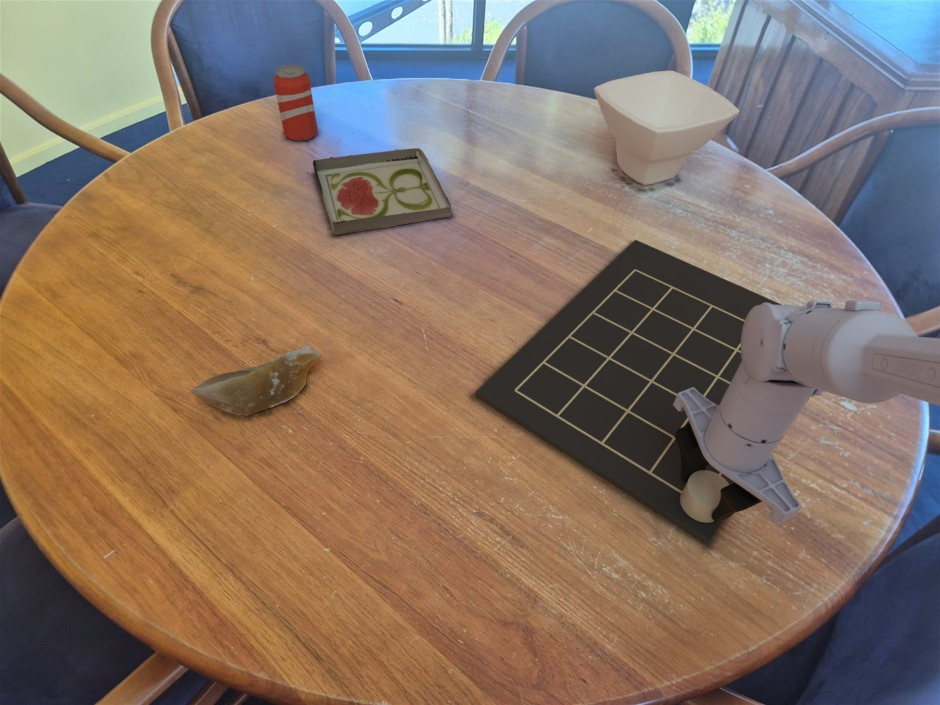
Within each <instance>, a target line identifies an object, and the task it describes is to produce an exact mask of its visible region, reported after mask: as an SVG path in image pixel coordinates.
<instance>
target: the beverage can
mask: <svg viewBox="0 0 940 705" xmlns="http://www.w3.org/2000/svg"><path fill="white" fill-rule="evenodd" d="M274 74H275V75H274V80H273V86H274V91H275V95H276V100H277V101H276V102H277V104H278V110H279V114H280V115H279V116H280V120H281V126H282V130H283V134H284V136H285V137H287V138H289V139H290V140H293V141H297V142H304V141H309V140H310V139H312V138H313V137H314V136H316V135H317V134H318V124H317V123H318V122H317V118H316V110H315V104H314V99H313V91H312V86H311V81H310V80H311V79H310V76H309V75H308V74H307V72H306V70H305V67H303V66H301V65H297V64H288V65H281V66H279V67H277V68H276V69H275V73H274Z"/></svg>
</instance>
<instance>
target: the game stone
mask: <svg viewBox="0 0 940 705" xmlns="http://www.w3.org/2000/svg"><path fill="white" fill-rule="evenodd" d="M728 485H729V483H728V482H727V481H726V480H725V479H724V478H723V477H722V476H720V475H719V474H717V473H715V472H712V471H708V470H700V471H697V472H695V473H693V474H692V475H691V476H690V477H689V479H688V481H687V483H686V485H685V486H684V488H683V490H682V492H681V494H680V503H681V506H682V508H683V510H684V511H685V512H686V514H687V515H688V516H690V517H691V518H693V519H694V520H697V521H699V522H704V523H710V522H714V520H713V519H712V518H711V517H712V513H713V512H714V510H715V509H716V508H717V506H718V504H719V502H720V498H721V492H720V490H721V489H722V488H724V487H726V486H728Z"/></svg>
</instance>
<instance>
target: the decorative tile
mask: <svg viewBox="0 0 940 705" xmlns="http://www.w3.org/2000/svg"><path fill="white" fill-rule="evenodd" d="M312 166H313V171H314V174H315V177H316V180H317V183H318V186H319V189H320V193H321V196H322V199H323V203H324V206H325V209H326V213H327V215H328V216H327V217H328V219H329V221H330V222H329V223H330V226H331V228H332V234H333V235H335V236H341V235H345V234H353V233H358V232H364V231H372V230H379V229H386V228H392V227H396V226H401V225H408V224H412V223H419V222H424V221H430V220H436V219H442V218H443V219H444V218H450V217H451V216H452V208H451V206H452V204H451V202H450V201H449V198H448V197H447V196H446V194H445V191H444V188H442V186H441V183H440V181H439V179H438V178H437V176H436V173H435V172H434V169H433V168H432V166H431V164H430V162H429V159H428V158H427V156H426V154H425V152H424V151H423V150H422V149H421V148H419V147H415V148H404V149H397V148H396V149H393V150H386V151H377V152H370V153H369V152H368V153H363V154H362V153H361V154H360V153H359V154H350V155H344V156H343V155H342V156H336V157H334V156H329V158H328V157H327V158H320V159H313V160H312Z"/></svg>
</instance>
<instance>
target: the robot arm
mask: <svg viewBox="0 0 940 705" xmlns="http://www.w3.org/2000/svg"><path fill="white" fill-rule="evenodd" d="M881 306H882V304H881V302H880V301H878V300H857V299H856V300H854V299H848V300H845V302H844V308H838V307H834V306H833V302H832V301H830V300H808V301H807V303H806V305H792V304H782V305H773V304H770V303H762V304H761V305H757V306H755V307H753V308H752V309H751V310H750V312H749V313H748V315H747V317H746V319H745V322H744V325H743V329H742V334H741V357H742V362H741V364H740V366H739V368H738V369H737V371H736V373H735V375H734V377H733V379H732V381H731V383H730V385H729V387H728V389H727V391H726V393H725V395H724V397H723V399H722V401H721V403H720V404H719V406H718V405H716V404H715V403H713V402H711V401H710V400H708V399H707V398H705V397H704V396H703V395H702V394H700V393H699V392H698V391H697V390H696V389H695V388H694V387H692V388H690V389H687V390H684V391H682V392H679V393H678V394H677V397H676V399H675V401H674V404H673V405H674V407H675V408H676V409H677V410H678V411H680V412H682V411H684V410H685V412H686V414H687V417H688V419H689V423H688V424H687V425H686V426H684V427H682V428H680V429H678V430H677V432H676V434H675V439H676V441H677V443H678V446H679V450H680V455H681V480H682V481H683V482H684V483H686V482H687V481H688V479H689V477H690V476H691V475H692V474H693V473H695V472H697V471H700V470H705V469H706V467H707V465H708V463H709V464H710V465H712V466H713V467H714V468H715V469H716V470H718V471H719V472H721V473H722V474H724V475H725V476H727V477H728V478H729V479H731V480H732V481H734V482H735V483H732V484H730V485H728V486H726V487H724V488H722V489H721V490H720V492H721V498H720V502H719V504H718V506H717V508H716V509H715V510H714V512H713V513H712V517H711V518H712V519H713V520H714V522H715V523H718V522H720V521H721V522H722V521H724V520H727V519H728V518H730V517H732V516H733V515H734V514H736V513H739V512H742V511H743V512H744V511H745V510H748V509H750V508H752V507H754V506H756V505H758V504H760V503H763V504H765V505H766V506H767V507H768V508H769V509H770V510H771V512H770V514H769V518H770V519H771V521H773V523H774V525H776V526H779V525H782V524H784V523H786V522H788V521H789V520H791V519H794V518H795V516H797V514H798V513H799V512H800V511H801V509H803V505H802V503H801V502H799V500H798V499H797V498H796V496H795V495H794V493H793V492H792V490H791V488H790V486H789V484H788V482H787V480H786V478H785V476H784V474H783V472H782V470H781V467H780V466H779V464H778V461H777V460H776V458H775V456H774V454H773V453H774V452H775V450H776V449H777V447H778V446H779V445H780V443H781V442H782V440H783V439H784V437H785V436H786V434H787V433H788V431H789V430H790V428H791V427H792V425H793V424H794V422H795V421H796V420H797V418H798V416H799V415H800V414H801V412H802V411H803V409H804V408H805V407H806V404H807V403H808V402H809V400H810V399H811V397H815V396H821V395H822V394H823V392H824V393H828V394H832V395H834V396H838V397H841V398H845V399H848V400H851V401H855V402H858V403H863V404H879V403H883V402H887V401H890V400H892V399H895V398H897V397H898V396H899V395H901V394H902V395H905V396H907V397H910V398H913V399H917V400H920V401H923V402H925V403H928V404H932V405H935V406H937V407H940V337H928V336H927V337H926V336H918V334H917V332H916V330H915V329H914V327H913V326H912V325H911V324H910V323H909V322H908V321H907V320H905V318H902V317H901V316H900V315H898V314H895V313H892V312H889V311H884V310H881Z"/></svg>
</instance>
